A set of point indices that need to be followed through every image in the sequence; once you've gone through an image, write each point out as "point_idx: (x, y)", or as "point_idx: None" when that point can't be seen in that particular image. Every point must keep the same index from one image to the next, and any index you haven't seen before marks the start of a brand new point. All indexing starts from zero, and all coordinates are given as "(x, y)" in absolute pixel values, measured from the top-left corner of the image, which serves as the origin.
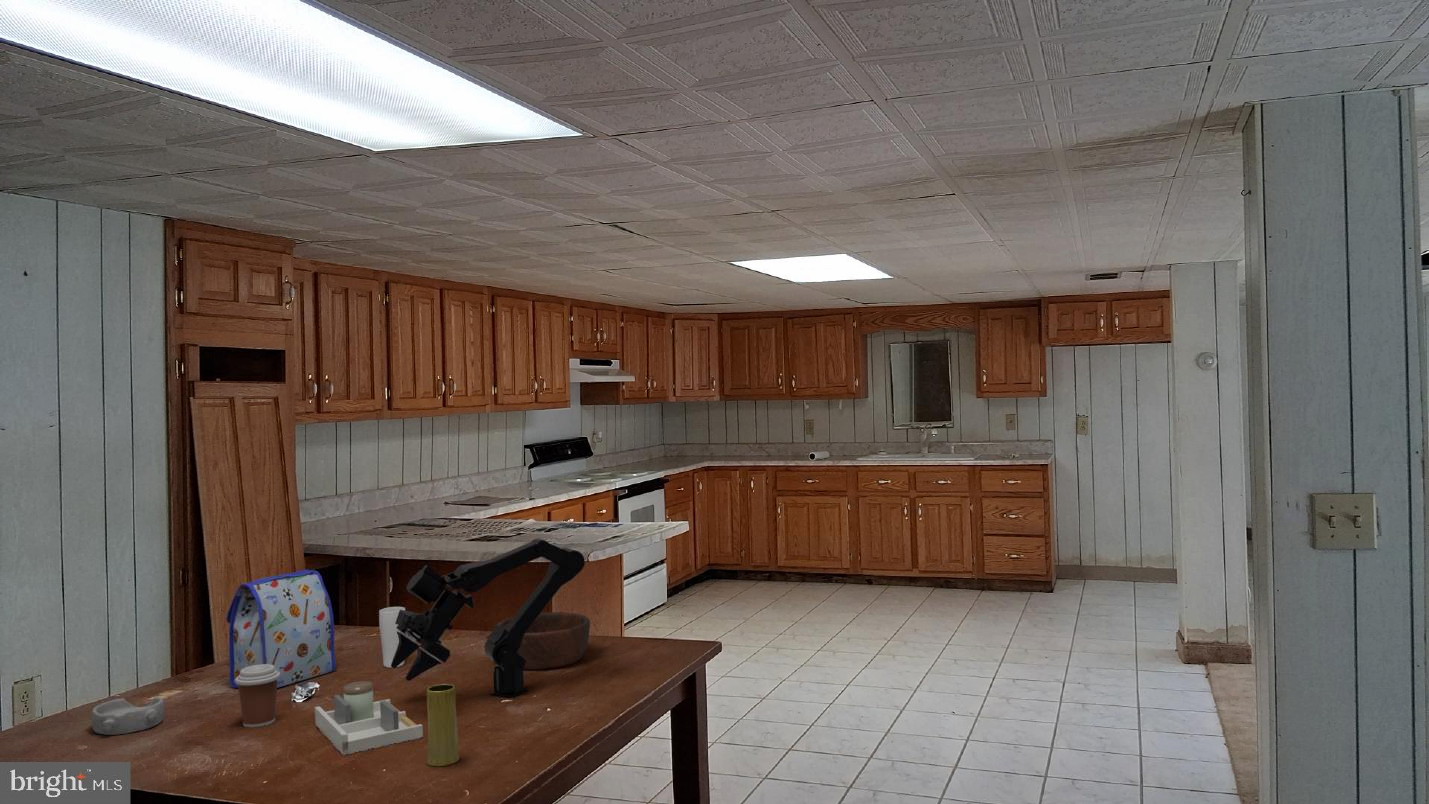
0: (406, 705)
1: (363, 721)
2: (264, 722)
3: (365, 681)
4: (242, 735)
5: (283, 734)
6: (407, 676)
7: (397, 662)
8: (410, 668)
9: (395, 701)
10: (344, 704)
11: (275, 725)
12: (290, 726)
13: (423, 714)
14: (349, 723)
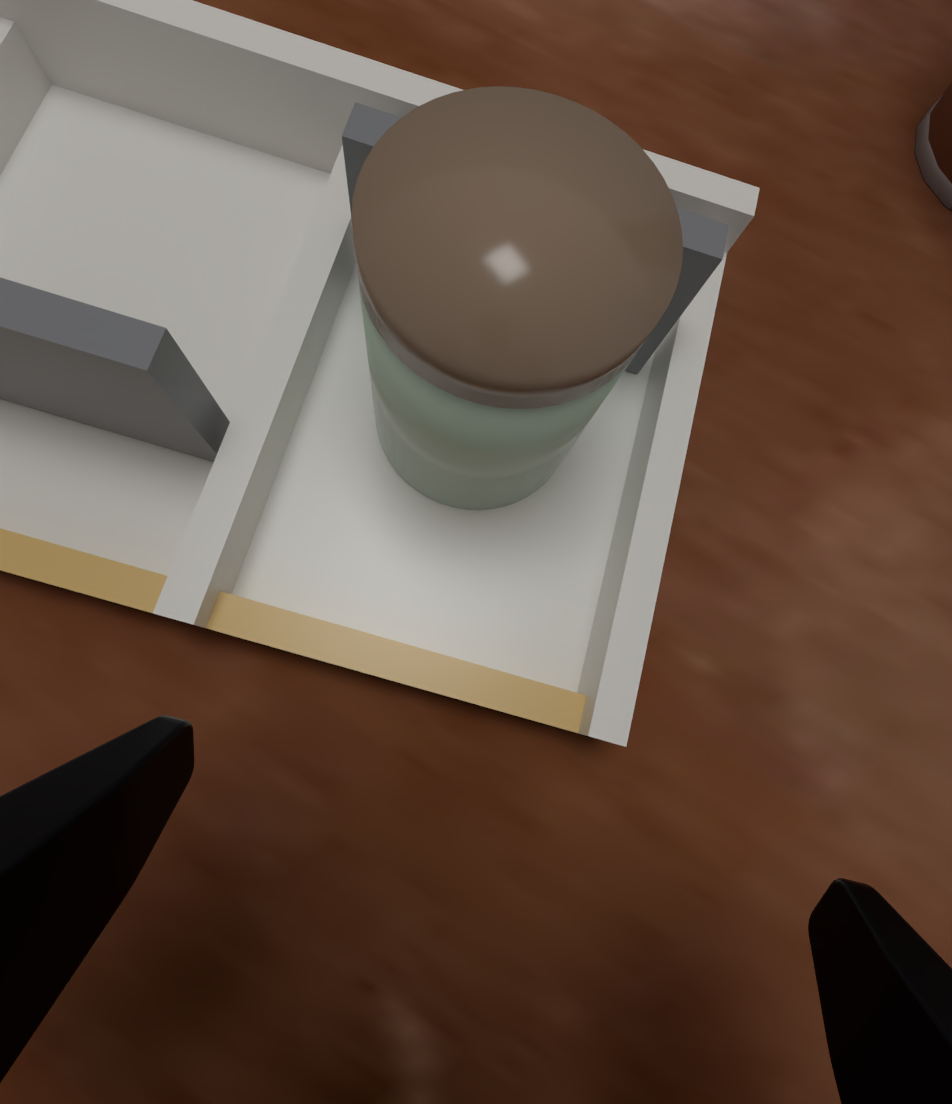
0: (594, 900)
1: (281, 302)
2: (929, 132)
3: (604, 358)
4: (842, 24)
5: (691, 118)
6: (123, 736)
7: (854, 1021)
8: (39, 833)
9: (763, 903)
10: (396, 120)
11: (876, 177)
12: (795, 205)
13: (260, 850)
14: (326, 222)
